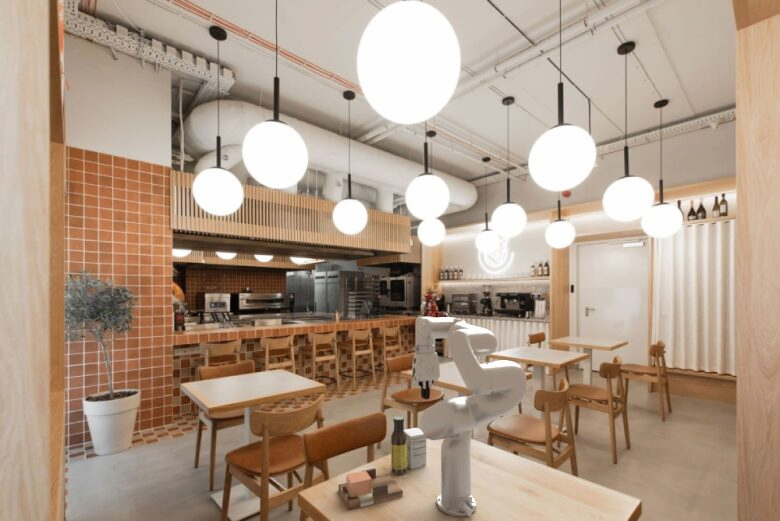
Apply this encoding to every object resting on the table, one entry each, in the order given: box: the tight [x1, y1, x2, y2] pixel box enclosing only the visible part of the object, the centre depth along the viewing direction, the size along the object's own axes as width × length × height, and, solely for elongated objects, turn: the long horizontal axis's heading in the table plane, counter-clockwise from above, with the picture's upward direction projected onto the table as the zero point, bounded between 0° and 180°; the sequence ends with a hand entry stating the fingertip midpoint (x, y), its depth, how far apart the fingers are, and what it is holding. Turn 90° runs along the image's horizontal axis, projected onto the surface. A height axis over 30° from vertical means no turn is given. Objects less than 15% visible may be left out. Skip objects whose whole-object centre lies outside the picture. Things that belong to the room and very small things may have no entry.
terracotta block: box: [345, 470, 372, 498], centre depth 123 cm, size 6×7×4 cm
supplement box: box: [404, 427, 427, 470], centre depth 147 cm, size 7×7×13 cm
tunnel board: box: [338, 467, 404, 511], centre depth 125 cm, size 12×19×5 cm, turn 113°
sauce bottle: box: [390, 415, 408, 475], centre depth 141 cm, size 6×6×20 cm
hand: (425, 398), depth 138 cm, fingers closed
